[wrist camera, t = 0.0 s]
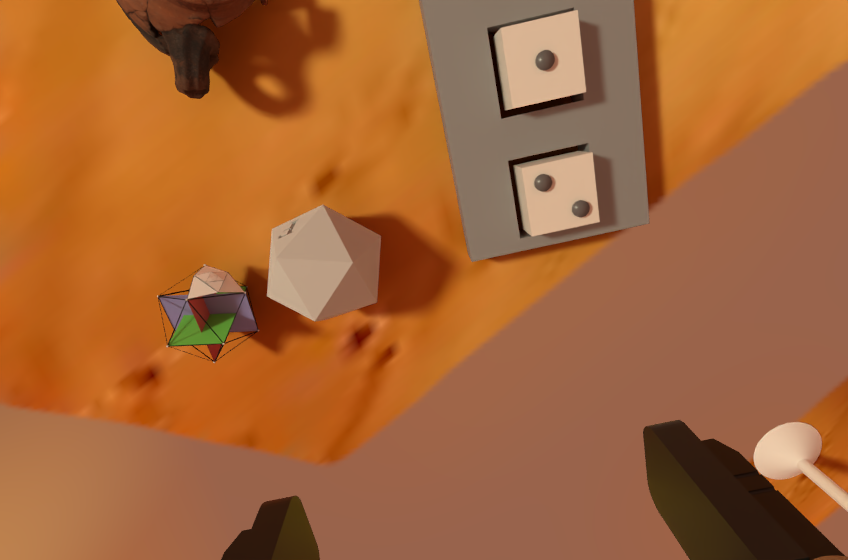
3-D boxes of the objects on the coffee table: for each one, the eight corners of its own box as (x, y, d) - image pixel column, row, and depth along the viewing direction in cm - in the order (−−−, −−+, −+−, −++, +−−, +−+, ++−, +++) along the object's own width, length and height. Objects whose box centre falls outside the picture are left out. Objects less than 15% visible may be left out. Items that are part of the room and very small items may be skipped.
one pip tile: (492, 36, 33) (501, 26, 30) (563, 20, 33) (579, 8, 30) (504, 110, 35) (513, 108, 31) (571, 95, 34) (587, 91, 31)
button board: (397, -114, 32) (395, -134, 29) (604, -165, 31) (620, -190, 29) (468, 253, 39) (471, 261, 37) (634, 217, 39) (649, 223, 36)
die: (392, 207, 39) (311, 175, 30) (414, 308, 37) (335, 304, 29) (317, 240, 42) (226, 219, 34) (334, 333, 41) (243, 336, 32)
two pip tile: (512, 165, 36) (522, 168, 33) (577, 150, 36) (594, 152, 32) (522, 228, 37) (533, 237, 34) (585, 215, 37) (601, 222, 34)
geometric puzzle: (265, 365, 40) (229, 346, 32) (184, 369, 40) (129, 351, 32) (271, 286, 42) (238, 251, 35) (194, 289, 42) (145, 255, 34)
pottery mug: (105, -55, 33) (79, -158, 25) (248, -38, 37) (262, -122, 29) (138, 119, 33) (122, 69, 26) (275, 117, 37) (295, 73, 30)
